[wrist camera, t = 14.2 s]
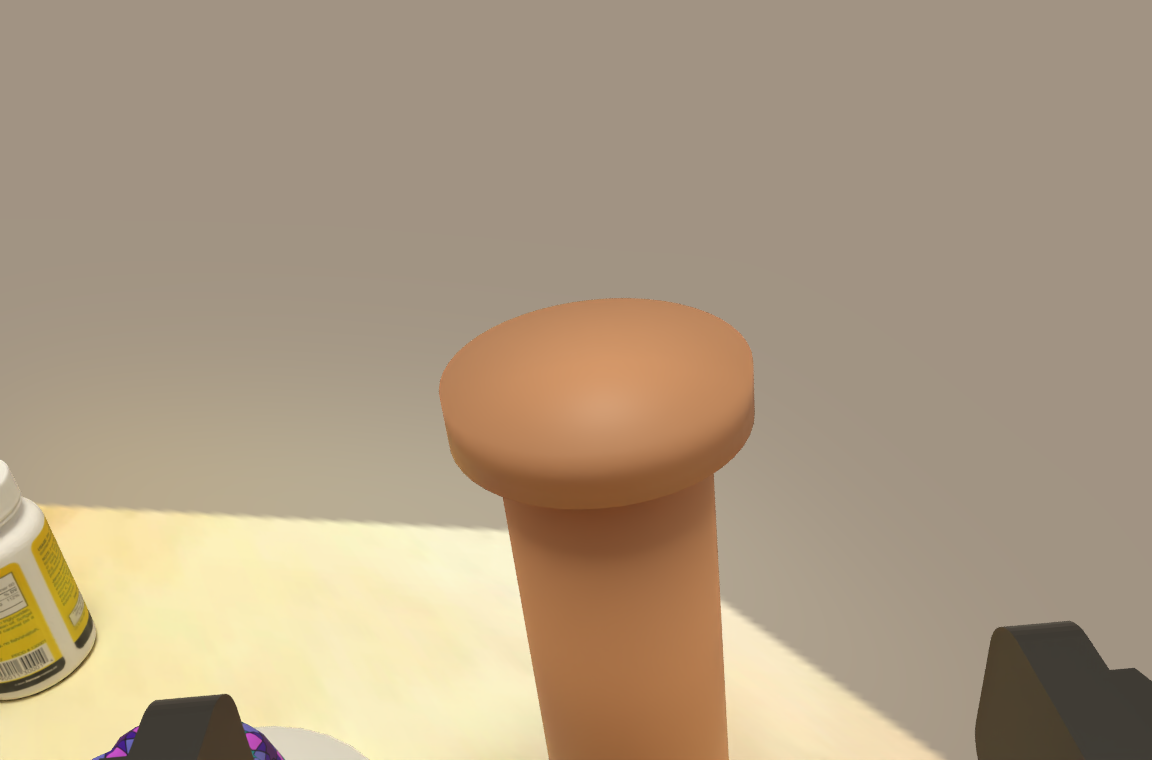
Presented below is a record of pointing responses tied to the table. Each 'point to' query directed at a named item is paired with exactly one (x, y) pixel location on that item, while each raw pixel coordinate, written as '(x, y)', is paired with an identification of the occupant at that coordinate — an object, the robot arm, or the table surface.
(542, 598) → the orange capped cylinder
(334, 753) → the pudding
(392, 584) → the table surface
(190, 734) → the robot arm
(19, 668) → the supplement bottle
